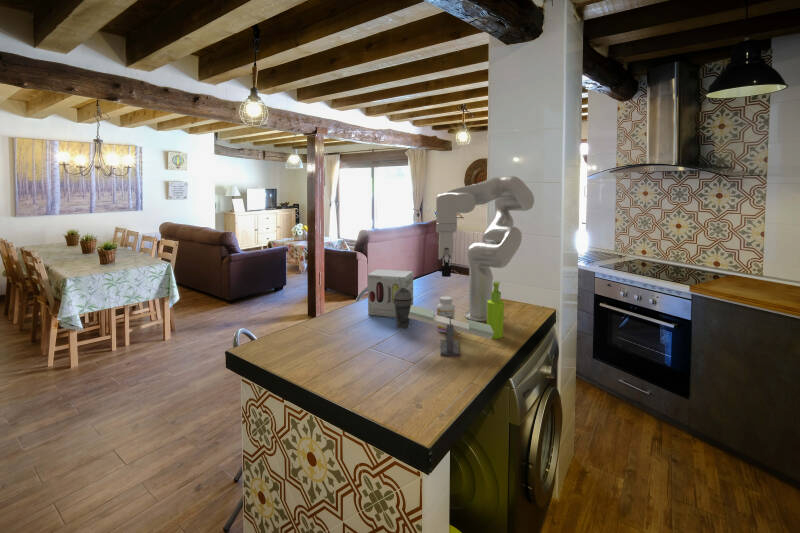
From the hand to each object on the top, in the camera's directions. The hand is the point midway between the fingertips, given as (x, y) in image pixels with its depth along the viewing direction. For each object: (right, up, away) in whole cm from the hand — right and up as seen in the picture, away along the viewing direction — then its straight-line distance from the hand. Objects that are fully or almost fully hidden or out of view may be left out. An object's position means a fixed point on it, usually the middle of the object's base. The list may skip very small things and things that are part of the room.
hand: (446, 273), depth 154 cm
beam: (-1, -16, -16) cm, 23 cm away
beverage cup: (-16, -21, +9) cm, 28 cm away
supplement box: (-21, -18, +27) cm, 39 cm away
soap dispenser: (+18, -23, -2) cm, 29 cm away
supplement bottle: (0, -22, +4) cm, 22 cm away
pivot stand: (-1, -25, -14) cm, 29 cm away
